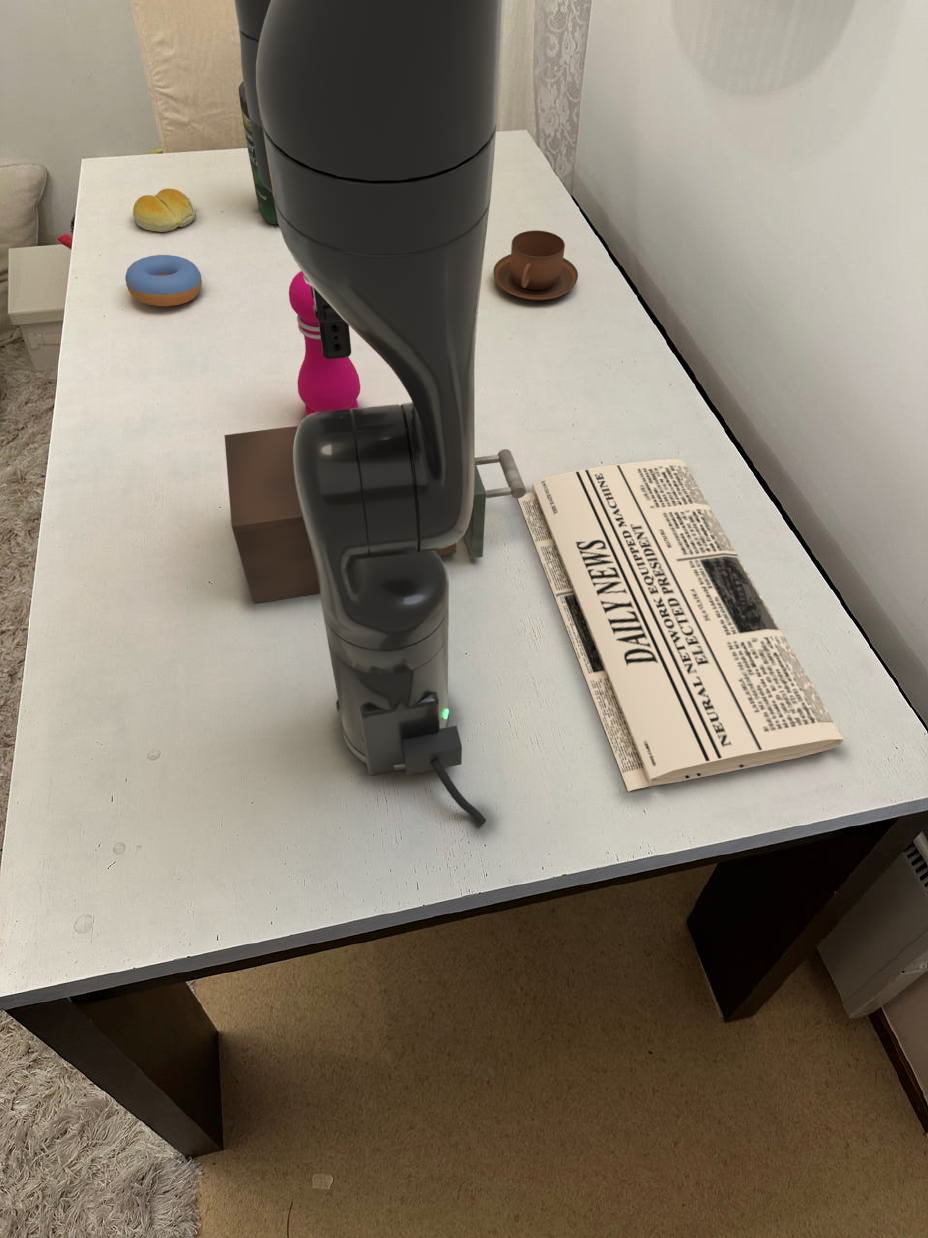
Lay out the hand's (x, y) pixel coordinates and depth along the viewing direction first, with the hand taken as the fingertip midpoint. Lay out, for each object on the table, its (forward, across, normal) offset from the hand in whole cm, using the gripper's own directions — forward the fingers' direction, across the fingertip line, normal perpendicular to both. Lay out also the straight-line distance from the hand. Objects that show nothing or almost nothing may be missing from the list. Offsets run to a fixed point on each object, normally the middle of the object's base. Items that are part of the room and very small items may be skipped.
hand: (331, 325), depth 68 cm
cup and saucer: (+26, -46, +32) cm, 61 cm away
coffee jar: (+26, -74, -2) cm, 78 cm away
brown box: (+26, 0, -4) cm, 26 cm away
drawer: (+25, -1, +8) cm, 26 cm away
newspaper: (+26, +14, +28) cm, 41 cm away
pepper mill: (+26, -22, 0) cm, 34 cm away
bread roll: (+26, -74, -20) cm, 81 cm away
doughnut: (+26, -52, -19) cm, 61 cm away
